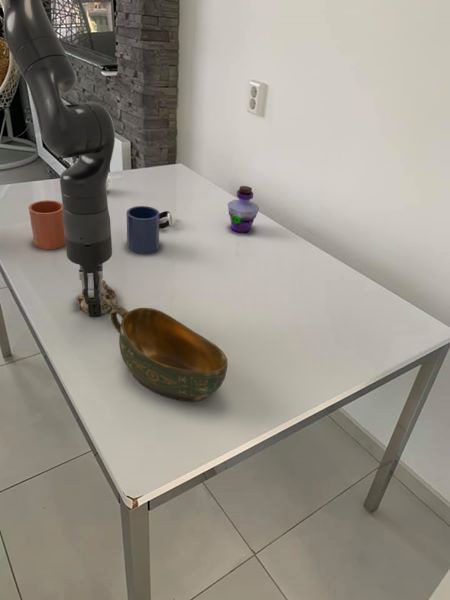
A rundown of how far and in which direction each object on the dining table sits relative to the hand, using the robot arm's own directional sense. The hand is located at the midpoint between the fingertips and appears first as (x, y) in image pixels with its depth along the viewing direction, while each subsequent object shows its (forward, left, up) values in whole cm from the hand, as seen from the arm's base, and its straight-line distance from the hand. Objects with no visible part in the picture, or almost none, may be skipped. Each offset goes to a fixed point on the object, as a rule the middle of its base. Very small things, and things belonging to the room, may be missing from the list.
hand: (95, 314), depth 85 cm
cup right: (+7, +30, -1) cm, 31 cm away
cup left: (-15, +30, -1) cm, 34 cm away
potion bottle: (+32, +43, -2) cm, 54 cm away
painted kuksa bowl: (+14, -14, -2) cm, 20 cm away
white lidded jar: (-9, +63, -2) cm, 64 cm away
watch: (+11, +43, -2) cm, 45 cm away
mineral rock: (-1, +7, -2) cm, 7 cm away
